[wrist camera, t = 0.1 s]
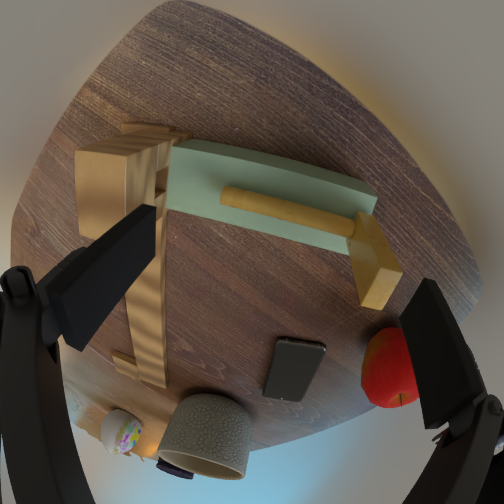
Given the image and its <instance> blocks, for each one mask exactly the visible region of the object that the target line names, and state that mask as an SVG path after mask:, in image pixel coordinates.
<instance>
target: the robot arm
mask: <svg viewBox="0 0 504 504" xmlns="http://www.w3.org/2000/svg"><path fill="white" fill-rule="evenodd" d="M156 209H157V207H156V206H152V205H147V204H143V203H142V204H141V205H140V206H138V207H137V208H136V209H134V210H133V211H132V212H131V213H129V214H128V215H127V216H125V217H124V218H123V219H121V220H120V221H119V222H118V223H116V224H115V225H114V226H113V227H111V228H110V229H109V230H108V231H107V232H105V233H104V234H103V235H102V236H100V237H99V238H98V239H97V240H96V241H94V242H93V243H92V244H91V245H90V246H89V247H87V248H86V247H81V248H79V249H77V250H74V251H72V252H71V253H70V254H69V255H68V256H66V257H65V258H64V260H62V261H61V262H60V263H58V264H57V266H55V267H54V268H53V269H52V270H51V271H50V272H49V273H47V274H46V275H45V276H44V277H43V278H42V279H41V280H40V281H39V282H38V283H37V284H36V285H35V282H34V278H33V275H32V272H31V270H30V269H29V268H28V267H26V266H15V267H12V268H10V269H8V270H7V271H5V272H4V273H3V275H2V276H1V278H0V285H1V287H2V290H3V292H0V451H1V434H2V440H3V447H4V453H5V458H6V464H7V469H8V474H9V478H10V482H11V486H12V490H13V494H14V497H15V500H16V504H96V503H95V501H94V499H93V496H92V494H91V491H90V488H89V486H88V483H87V480H86V477H85V474H84V472H83V469H82V465H81V462H80V459H79V456H78V452H77V449H76V445H75V441H74V437H73V433H72V429H71V425H70V420H69V415H68V410H67V405H66V399H65V393H64V386H63V379H62V371H61V362H60V351H59V344H58V340H57V339H58V338H59V336H60V335H61V334H62V335H63V338H64V340H65V342H66V344H67V345H69V346H71V347H73V348H75V349H77V350H78V351H80V352H82V351H83V349H84V348H85V346H86V345H87V344H88V342H89V341H90V339H91V338H92V337H93V335H94V334H95V332H96V331H97V330H98V328H99V327H100V326H101V324H102V323H103V322H104V320H105V319H106V318H107V316H108V315H109V314H110V312H111V311H112V310H113V308H114V307H115V306H116V304H117V303H118V302H119V301H120V299H121V298H122V297H123V296H124V294H125V293H126V292H127V290H128V289H129V288H130V287H131V285H132V284H133V283H134V282H135V280H136V279H137V278H138V277H139V276H140V274H141V273H142V272H143V271H144V269H145V268H146V267H147V266H148V265H149V263H150V262H151V261H152V260H153V259H154V257H155V256H156ZM399 320H400V323H401V327H402V330H403V333H404V337H405V340H406V344H407V348H408V351H409V355H410V359H411V363H412V367H413V371H414V375H415V379H416V384H417V388H418V393H419V398H420V403H421V408H422V414H423V419H424V425H425V429H437V428H439V427H441V426H442V425H444V424H445V423H446V422H448V423H449V427H448V428H447V429H445V430H444V431H442V432H441V433H440V434H438V435H437V436H435V437H434V438H433V439H432V441H435V440H436V439H438V438H440V440H439V441H438V442H436V444H437V446H436V448H435V450H434V452H433V454H432V456H431V458H430V460H429V461H428V463H427V465H426V467H425V468H424V470H423V472H422V474H421V475H420V477H419V479H418V480H417V482H416V483H415V485H414V487H413V488H412V490H411V491H410V493H409V494H408V496H407V497H406V499H405V500H404V501H403V503H402V504H504V448H503V451H501V452H500V453H498V454H497V455H494V450H496V449H497V448H499V447H500V446H502V445H503V444H504V410H503V408H502V405H501V402H500V401H499V399H498V398H497V397H496V396H494V395H490V394H489V395H488V394H487V391H486V388H485V385H484V382H483V379H482V376H481V374H480V371H479V369H478V366H477V363H476V362H475V358H474V356H473V353H472V351H471V349H470V348H469V347H468V345H467V344H466V342H465V340H464V337H463V335H462V333H461V331H460V329H459V326H458V324H457V322H456V320H455V318H454V316H453V314H452V312H451V310H450V308H449V306H448V304H447V302H446V300H445V298H444V296H443V294H442V292H441V290H440V289H439V287H438V285H437V283H436V281H434V280H431V279H427V278H424V279H423V280H422V282H421V284H420V285H419V287H418V289H417V290H416V292H415V294H414V295H413V297H412V299H411V300H410V302H409V303H408V305H407V307H406V308H405V310H404V311H403V313H402V314H401V316H400V317H399ZM0 504H2V496H1V481H0Z"/></svg>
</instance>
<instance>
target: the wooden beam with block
mask: <svg viewBox="0 0 504 504" xmlns="http://www.w3.org/2000/svg"><path fill="white" fill-rule="evenodd" d="M175 129H176V127H175V126H167V125H158V124H148V123H138V122H126V123H122V124H121V134H120V136H117V137H113V138H110V139H106V140H103V141H100V142H97V143H94V144H90V145H87V146H84V147H82V148H79V149H76V150H75V184H76V200H77V212H78V222H79V230H80V235H83V236H86V237H89V238H92V239H95V240H97V239H98V238H99V237H100V236H102V235H103V234H104V233H105V232H107V231H108V230H109V229H110V228H111V227H113V226H114V225H115V224H116V223H118V222H119V221H120V220H121V219H123V218H124V217H125V216H127V215H128V214H129V213H131V212H132V211H133V210H134V209H136V208H137V207H138V206H140V205H141V204H142V203H143V204H147V205H152V206H156V207H157V209H156V256H155V257H154V259H153V260H152V261H151V262H150V263H149V265H148V266H147V267H146V268H145V269H144V271H143V272H142V273H141V274H140V276H139V277H138V278H137V279H136V280H135V282H134V283H133V284H132V285H131V287H130V288H129V289H128V290H127V292H126V293H125V299H126V306H127V313H128V320H129V326H130V332H131V337H132V343H133V348H134V353H135V358H136V359H135V358H133V357H130V356H128V355H126V354H123V353H121V352H119V351H116V350H115V351H114V352H113V354H112V358H113V361H114V364H115V367H116V370H117V371H118V372H121V373H123V374H125V375H127V376H130V377H132V378H134V379H137V380H139V381H141V379H142V380H144V381H147V382H149V383H152V384H154V385H157V386H160V387H162V388H165V389H166V388H167V386H168V384H169V380H168V366H167V348H166V322H165V256H166V229H167V212H168V211H169V210H170V209H168V208H166V201H167V188H168V176H169V165H170V156H171V147H172V146H174V145H176V144H179V143H182V142H184V141H187V140H190V139H192V135H193V133H190V132H183V131H176V130H175Z"/></svg>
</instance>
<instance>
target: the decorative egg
mask: <svg viewBox="0 0 504 504" xmlns="http://www.w3.org/2000/svg"><path fill="white" fill-rule="evenodd" d="M140 431H141V428H140V423H139V420H138V419H137V418H136V417H134V416H133V415H131V414H130V413H128V412H126V411H124V410H121V409H116V410H113V411H111V412H110V413H108V414H107V416H106V417H105V418H104V420H103V422H102V426H101V439H102V442H103V445H104V447H105V448H106V449H107V450H108V451H109V452H110V453H113V454H121V453H124V452H126V451H128V450H130V449H131V448H132V447H133V446H134V445H135V444H136V443H137V441H138V439H139V436H140Z"/></svg>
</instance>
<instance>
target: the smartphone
mask: <svg viewBox="0 0 504 504" xmlns="http://www.w3.org/2000/svg"><path fill="white" fill-rule="evenodd" d="M325 352H326V346H325V345H323V344H318V343H311V342H305V341H299V340H293V339H287V338H279V339H278V340H277V342H276V345H275V349H274V353H273V357H272V360H271V364H270V367H269V371H268V375H267V377H266V381H265V384H264V389H263V392H262V395H263V396H264V397H268V398H274V399H280V400H286V401H293V402H300V401H302V399H303V397H304V395H305V393H306V391H307V389H308V387H309V385H310V383H311V381H312V379H313V377H314V375H315V373H316V371H317V369H318V367H319V365H320V363H321V361H322V358H323V356H324V354H325Z"/></svg>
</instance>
